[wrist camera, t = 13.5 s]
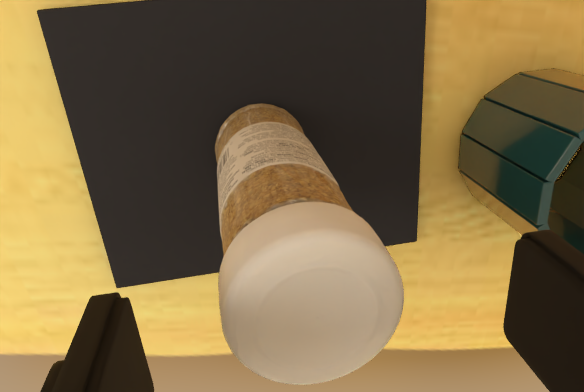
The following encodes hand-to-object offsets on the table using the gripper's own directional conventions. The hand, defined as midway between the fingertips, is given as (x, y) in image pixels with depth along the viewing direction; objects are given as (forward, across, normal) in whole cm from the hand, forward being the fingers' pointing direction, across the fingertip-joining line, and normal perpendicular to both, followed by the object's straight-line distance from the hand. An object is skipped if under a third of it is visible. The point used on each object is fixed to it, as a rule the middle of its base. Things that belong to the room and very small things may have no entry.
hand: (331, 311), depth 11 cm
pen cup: (+14, -14, +2) cm, 20 cm away
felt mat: (+14, +1, 0) cm, 14 cm away
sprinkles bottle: (+14, +1, 0) cm, 14 cm away
